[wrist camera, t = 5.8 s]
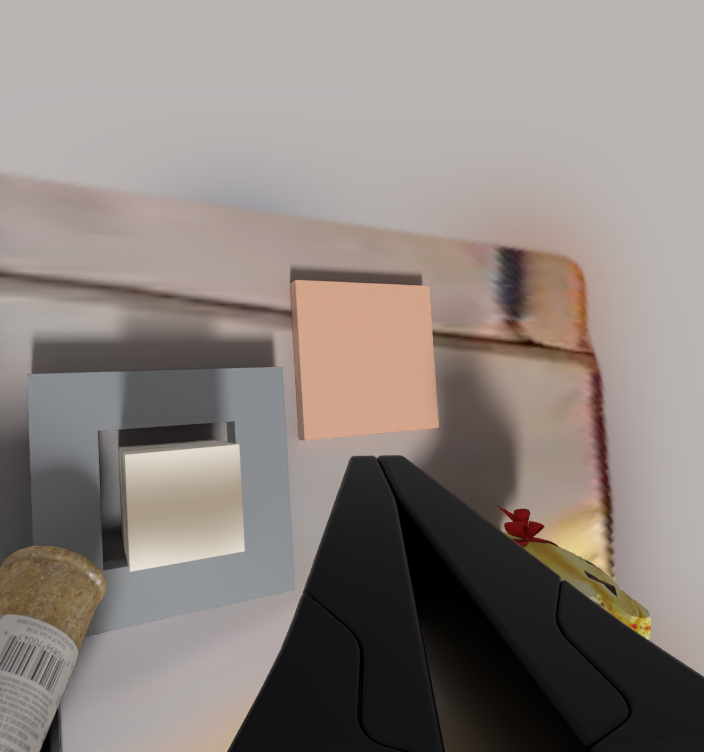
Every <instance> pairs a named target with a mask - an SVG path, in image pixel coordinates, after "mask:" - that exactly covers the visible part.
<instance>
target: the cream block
mask: <svg viewBox="0 0 704 752" xmlns="http://www.w3.org/2000/svg"><path fill="white" fill-rule="evenodd" d="M118 454H119V478H120V503H121V527H122V541H123V545H124V550H125V554H126V558H127V562H128V566H129V571H130V572H132V571H138V570H143V569H149V568H154V567H160V566H166V565H171V564H177V563H182V562H188V561H194V560H199V559H205V558H210V557H216V556H221V555H227V554H233V553H238V552H244V551H245V545H244V525H243V506H242V487H241V467H240V448H239V444H234V443H229V442H223V441H218V440H212V439H207V440H195V441H183V442H172V443H160V444H148V445H136V446H124V447H118Z"/></svg>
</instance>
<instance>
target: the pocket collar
mask: <svg viewBox="0 0 704 752" xmlns="http://www.w3.org/2000/svg"><path fill="white" fill-rule="evenodd" d="M27 386H28V416H29V446H30V476H31V506H32V536H33V546H54V547H59V548H63V549H67V550H70V551H72V552H75V553H77V554H79V555H82V556H84V557H86V558H88V559H89V560H91V561H92V562H93V563H94V564H96V565H97V566H98V567H99V568H100V569H101V571H102V572H103V574H104V577H105V579H106V585H107V588H106V592H105V595H104V597H103V598H102V600H101V602H100V603H99V604H98V605H97V607H96V610H95V612H94V615H93V618H92V620H91V622H90V624H89V627H88V629H87V631H86V634H85V636H89V635H93V634H98V633H102V632H107V631H111V630H116V629H120V628H125V627H129V626H134V625H139V624H143V623H148V622H152V621H157V620H161V619H166V618H170V617H175V616H179V615H184V614H188V613H193V612H197V611H202V610H207V609H211V608H216V607H220V606H225V605H229V604H234V603H238V602H243V601H247V600H252V599H256V598H261V597H266V596H270V595H275V594H279V593H284V592H288V591H293V590H295V581H294V563H293V545H292V528H291V510H290V492H289V474H288V457H287V439H286V421H285V404H284V386H283V368H282V367H258V368H224V369H189V370H155V371H120V372H85V373H51V374H27ZM216 422H227V436H228V442H229V443H234V444H239V448H240V467H241V487H242V506H243V525H244V545H245V551H244V552H238V553H233V554H227V555H221V556H216V557H210V558H205V559H199V560H194V561H188V562H182V563H177V564H171V565H166V566H160V567H154V568H149V569H143V570H138V571H132V572H130V571H129V566H128V562H127V558H126V557H125V558H119V559H113V560H107V561H103V553H102V527H101V502H100V477H99V451H98V431H105V430H119V429H133V428H147V427H161V426H175V425H188V424H202V423H216Z"/></svg>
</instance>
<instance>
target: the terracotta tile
mask: <svg viewBox="0 0 704 752" xmlns="http://www.w3.org/2000/svg"><path fill="white" fill-rule="evenodd" d="M290 291H291V308H292V326H293V343H294V361H295V378H296V395H297V413H298V430H299V440H312V439H323V438H334V437H345V436H355V435H366V434H377V433H388V432H398V431H409V430H420V429H431V428H439V420H438V406H437V392H436V378H435V363H434V349H433V335H432V321H431V306H430V292H429V286H418V285H395V284H373V283H351V282H329V281H307V280H295V281H293V282H292V283H290Z"/></svg>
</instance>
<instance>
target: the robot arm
mask: <svg viewBox="0 0 704 752" xmlns="http://www.w3.org/2000/svg"><path fill="white" fill-rule="evenodd" d="M40 752H60V724H59V705H58V708H57V710H56V713H55V715H54V718H53V720H52V722H51V725H50V727H49V730H48V732H47V734H46V737H45V739H44V742H43V744H42V747H41V749H40ZM227 752H704V677H703V676H702V675H700V674H699V673H697V672H695V671H694V670H693V669H691V668H690V667H688V666H686V665H685V664H683V663H682V662H680V661H679V660H677V659H676V658H674V657H673V656H671V655H670V654H668V653H667V652H665V651H664V650H662V649H661V648H659V647H658V646H656V645H655V644H654V643H652V642H650V641H649V640H648V639H646V638H645V637H643V636H642V635H640V634H639V633H637V632H636V631H634V630H633V629H631V628H630V627H629V626H627V625H626V624H624V623H623V622H621V621H620V620H619V619H617V618H616V617H615V616H613V615H612V614H610V613H609V612H608V611H606V610H605V609H604V608H602V607H601V606H600V605H598V604H597V603H595V602H594V601H593V600H591V599H590V598H589V597H587V596H586V595H585V594H583V593H582V592H581V591H579V590H578V589H577V588H575V587H574V586H573V585H572V584H570V583H569V582H568V581H566V580H562V581H561V577H560V576H559V575H558V574H557V573H556V572H554V571H553V570H552V569H550V568H549V567H548V566H546V565H545V564H544V563H542V562H541V561H540V560H539V559H537V558H536V557H535V556H533V555H532V554H531V553H529V552H528V551H527V550H525V549H524V548H523V547H522V546H520V545H519V544H518V543H516V542H515V541H514V540H512V539H511V538H510V537H508V536H507V535H506V534H504V533H503V532H502V531H501V530H499V529H498V528H497V527H495V526H494V525H493V524H491V523H490V522H489V521H487V520H486V519H485V518H484V517H482V516H481V515H480V514H478V513H477V512H476V511H474V510H473V509H472V508H470V507H469V506H468V505H467V504H465V503H464V502H463V501H461V500H460V499H459V498H457V497H456V496H455V495H453V494H452V493H451V492H450V491H448V490H447V489H446V488H444V487H443V486H442V485H440V484H439V483H438V482H436V481H435V480H434V479H433V478H431V477H430V476H429V475H427V474H426V473H425V472H423V471H422V470H421V469H419V468H418V467H417V466H416V465H414V464H413V463H412V462H410V461H409V460H408V459H406V458H405V457H403V456H401V455H387V456H379V457H378V458H376V457H375V456H352V457H351V458H350V460H349V463H348V466H347V469H346V471H345V474H344V477H343V480H342V483H341V486H340V488H339V491H338V494H337V497H336V500H335V503H334V505H333V508H332V511H331V514H330V517H329V520H328V522H327V525H326V528H325V531H324V534H323V537H322V539H321V542H320V545H319V548H318V551H317V554H316V556H315V559H314V562H313V565H312V568H311V571H310V573H309V576H308V579H307V582H306V585H305V588H304V590H303V595H302V596H301V598H300V601H299V604H298V606H297V609H296V612H295V615H294V617H293V620H292V622H291V625H290V627H289V630H288V632H287V635H286V637H285V640H284V642H283V645H282V647H281V650H280V652H279V654H278V656H277V658H276V660H275V662H274V664H273V666H272V668H271V670H270V672H269V674H268V676H267V678H266V680H265V682H264V684H263V686H262V688H261V690H260V692H259V694H258V696H257V697H256V699H255V701H254V703H253V705H252V707H251V709H250V710H249V712H248V714H247V716H246V718H245V720H244V722H243V723H242V725H241V727H240V729H239V731H238V733H237V735H236V736H235V738H234V740H233V742H232V744H231V746H230V748H229V749H228V751H227Z"/></svg>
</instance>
